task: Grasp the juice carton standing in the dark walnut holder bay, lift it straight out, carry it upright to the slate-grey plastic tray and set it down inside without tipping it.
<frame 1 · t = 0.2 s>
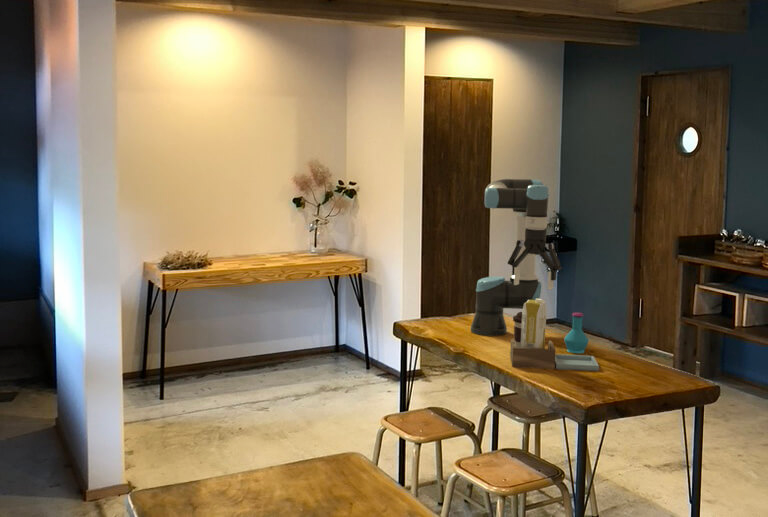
hand: (533, 286, 311), 28 cm above the table, fingers open, 13 cm apart
bay: (531, 362, 315), on the table
coffee cup: (524, 351, 332), on the table
tray: (574, 365, 314), on the table
juice carton: (531, 363, 315), on the table
perfume bottle: (575, 351, 334), on the table
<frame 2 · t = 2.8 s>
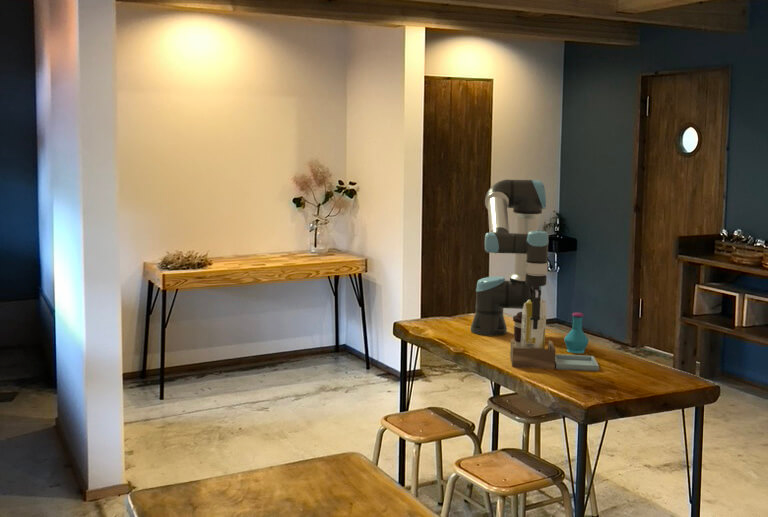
hand: (533, 334, 314), 11 cm above the table, fingers closed on juice carton, 10 cm apart
juice carton: (531, 363, 315), on the table, touching gripper
everything else where it was.
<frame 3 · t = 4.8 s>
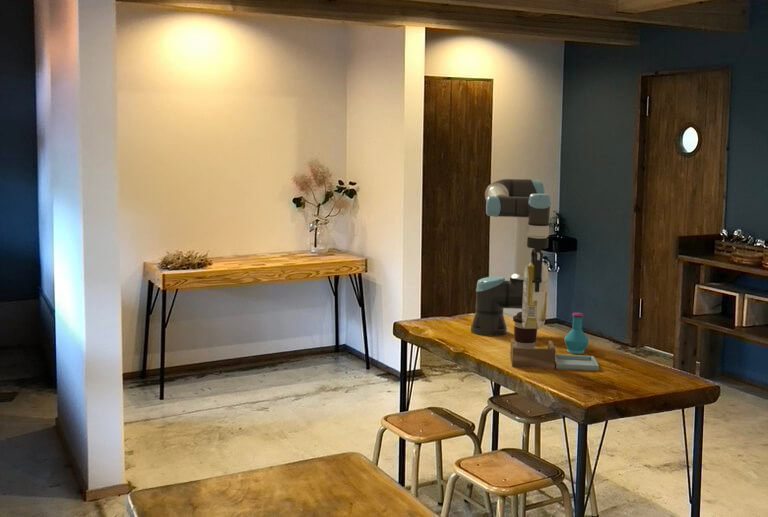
hand: (534, 297, 312), 24 cm above the table, fingers closed on juice carton, 10 cm apart
juice carton: (533, 327, 314), point 13 cm above the table, touching gripper
everything else where it was.
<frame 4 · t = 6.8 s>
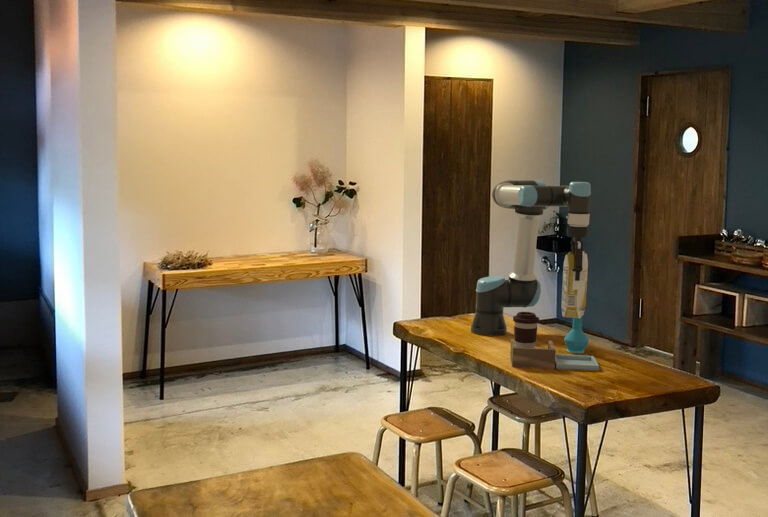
hand: (574, 286, 310), 29 cm above the table, fingers closed on juice carton, 10 cm apart
juice carton: (572, 316, 311), point 18 cm above the table, touching gripper
everything else where it was.
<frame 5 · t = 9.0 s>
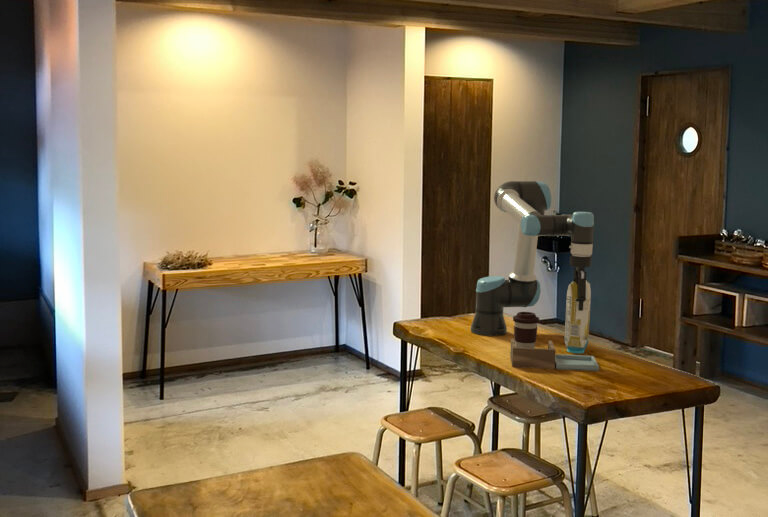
hand: (577, 316, 311), 18 cm above the table, fingers closed on juice carton, 10 cm apart
juice carton: (576, 345, 312), point 7 cm above the table, touching gripper
everything else where it was.
when the fingers open (13 cm above the table, at t = 10.7 s): juice carton drops 1 cm, resting on tray.
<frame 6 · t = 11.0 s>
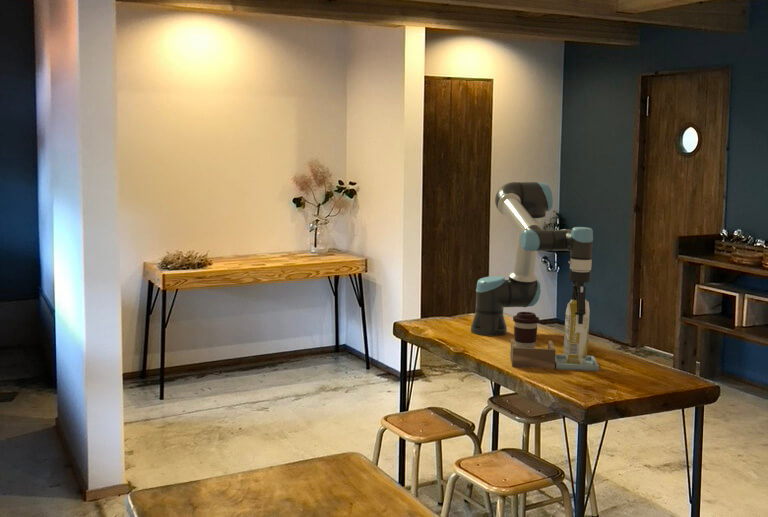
hand: (576, 328, 312), 14 cm above the table, fingers open, 13 cm apart
juice carton: (574, 363, 314), resting on tray
everything else where it was.
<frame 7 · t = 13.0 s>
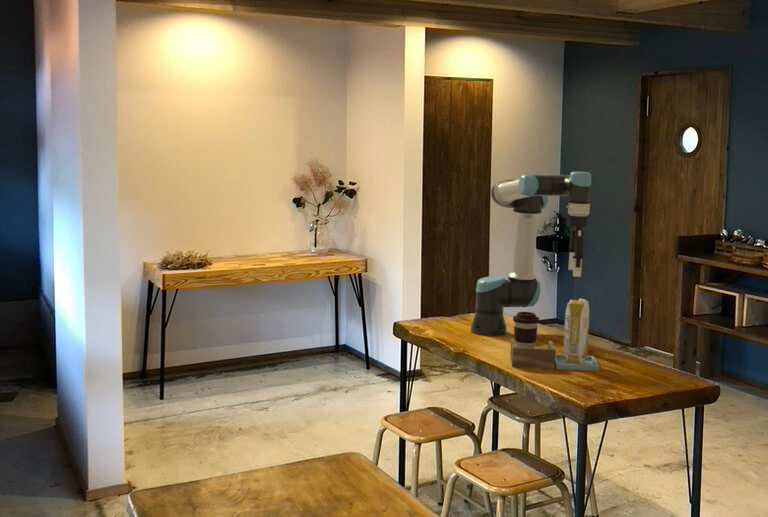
hand: (574, 273, 313), 33 cm above the table, fingers open, 13 cm apart
nothing on the table moved.
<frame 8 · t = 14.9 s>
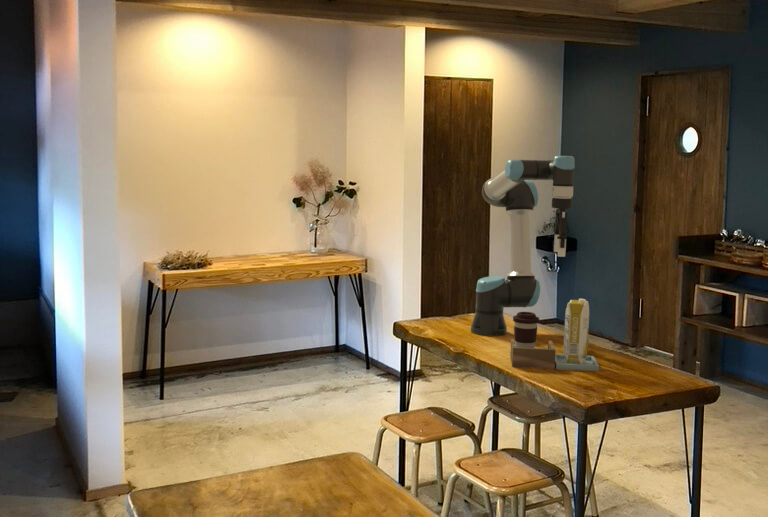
hand: (559, 254, 323), 39 cm above the table, fingers open, 13 cm apart
nothing on the table moved.
at the end: juice carton inside the target area on the tray (0.4 cm from its centre), point 0.4 cm above the tray's base; juice carton tilted 0°; the gripper is holding nothing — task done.
